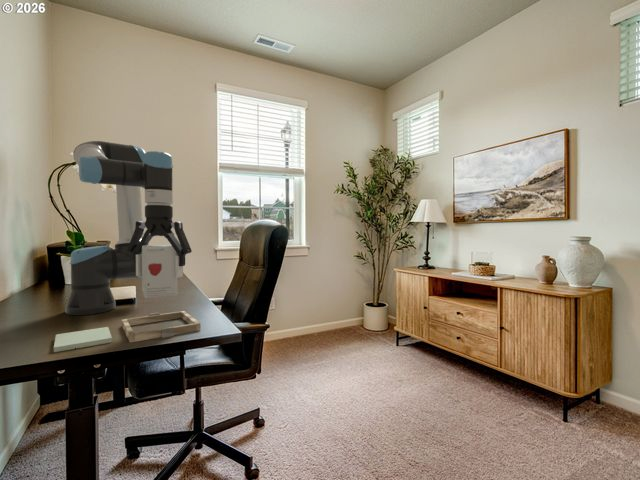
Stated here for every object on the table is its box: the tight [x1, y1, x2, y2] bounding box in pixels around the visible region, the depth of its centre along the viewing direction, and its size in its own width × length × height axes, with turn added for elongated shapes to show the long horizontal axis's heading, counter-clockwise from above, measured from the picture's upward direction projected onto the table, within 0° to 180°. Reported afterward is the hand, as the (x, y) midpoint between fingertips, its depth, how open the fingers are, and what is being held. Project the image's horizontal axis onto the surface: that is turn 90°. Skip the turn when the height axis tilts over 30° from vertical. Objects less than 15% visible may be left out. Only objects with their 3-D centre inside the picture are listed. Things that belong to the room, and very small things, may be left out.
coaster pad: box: [53, 326, 113, 353], centre depth 89 cm, size 12×12×1 cm
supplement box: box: [141, 244, 179, 299], centre depth 99 cm, size 9×9×15 cm
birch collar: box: [121, 310, 201, 343], centre depth 100 cm, size 20×18×2 cm
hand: (159, 276), depth 100 cm, fingers closed on supplement box, 12 cm apart
